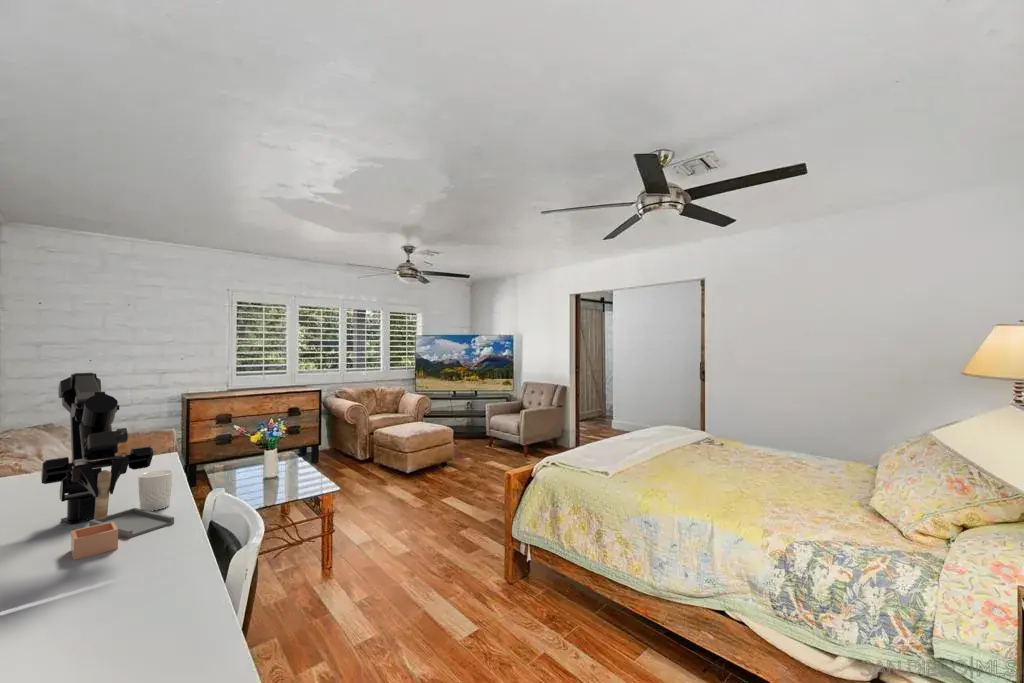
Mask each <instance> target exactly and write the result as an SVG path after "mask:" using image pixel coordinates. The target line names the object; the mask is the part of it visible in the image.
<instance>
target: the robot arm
mask: <svg viewBox="0 0 1024 683" xmlns="http://www.w3.org/2000/svg"><path fill="white" fill-rule="evenodd" d="M57 390H58V391H57V392H58V393H57V394H58V399H61V405H62V407H63V408H64V409H65V410H67V411H68V413H69V414H70V415H69V416H70V417H69V418H70V439H71V440H70V442H71V444H70V445H71V462H70V460H69V456H65V457H58V458H49V459H46V460H44V461H43V462H42V466H41V475H40V476H41V484H43V485H47V484H54V483H55V484H56V483H60V487H59V499H60V501H61V502H67V503H66V504H67V507H66V508H67V509H66V515H67V516H66V517H63V518H61V519H60V522H63V523H64V522H65V523H68V524H70V525H74V524H78V523H81V522H85V521H88V520H89V521H90V520H93V519H95V518H94V515H95V503H96V497H98V488H97V480H98V474H99V473H100V472H101V471H103V470H102V468H109V467H111V469H110V472H111V481H110V492H109V495H113V494H114V490H115V489H116V484H117V482H118V480H119V479H120V476H121V475H124V474H126V473H127V470H128V468H129V469H131V470H133V471H134V470H141V469H146V468H149V467H151V463H152V461H153V456H154V450H153V448H152V447H151V446H148V445H147V446H141V447H134V448H133V447H132V448H130V453H129V454H121V455H116V454H118V451H119V446H118V445H119V444H123V443H127V441H128V440H129V435H128V429H127V428H126V427H121V428H117V429H116V430H113V428H112V424H113V423H114V421H115V418H116V413H117V411H120V405H119V402H118V400H117V399H116V398H115V397H114V396H113V395H109V394H107V393H106V391H102V380H101V378H99V377H97V373H96V372H95V373H93V372H74V373H71V374H70V377H67V378H65V379H62V380H60V381H59V384H58V389H57Z"/></svg>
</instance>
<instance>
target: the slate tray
mask: <svg viewBox="0 0 1024 683" xmlns="http://www.w3.org/2000/svg"><path fill="white" fill-rule="evenodd" d="M113 521H114V523H115V525H116V526H117V528H118V537H122V538H124V539H125V538H126V539H131V538H135V537H137V536H140V535H143V534H146V533H149V532H153V531H155V530H158V529H162V528H164V527H167V526H171V525H174V524H175V517H174V516H171V515H167V514H162V513H159V512H158V513H157V512H156V511H155V512H154V511H146V510H142V509H140V508H138V507H133V508H130V509H126V510H122V511H119V512H116V513H112V514H107V517H106V518H104V519H100V520H97V519H95V518H93V519H89V521H88V527H91V526H95V525H100V524H104V523H109V522H113Z"/></svg>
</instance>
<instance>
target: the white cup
mask: <svg viewBox="0 0 1024 683" xmlns="http://www.w3.org/2000/svg"><path fill="white" fill-rule="evenodd" d="M137 476H138V477H137V479H138V498H139V500H138V501H139V503H140V504H139V506H140V508H139V509H142V510H146V511H150V512H153V511H152V510H156V511H159V510H158V509H161V510H163V509H162V508H164V507H166V508H168V507H170V505H171V495H172V488H173V487H172V486H173V484H172V483H173V470H172V469H171V470H170V469H164V470H163V469H161V470H160V469H159V470H154V471H153V470H152V471H149V472H144V473H141V474H139V475H137ZM167 506H168V507H167ZM164 509H165V508H164Z"/></svg>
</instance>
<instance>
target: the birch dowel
mask: <svg viewBox="0 0 1024 683" xmlns="http://www.w3.org/2000/svg"><path fill="white" fill-rule="evenodd" d="M110 481H111V470H107V469H103V470H102V471H101V472H100V473H99V474H98V480H97V488H98V497H96V503H95V515H94V518H93V519H97V520H100V519H104V518H106V517H107V515H108V512H109V511H108V510H109V500H110Z"/></svg>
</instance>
